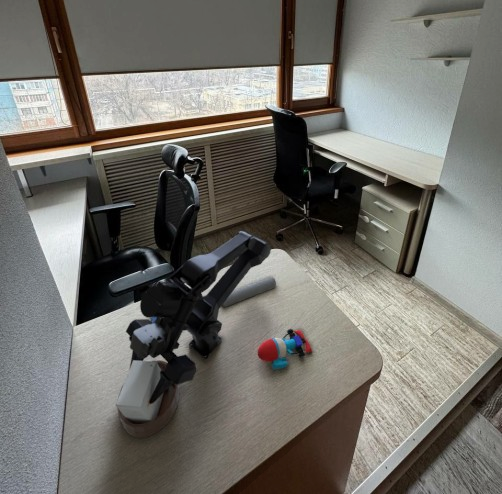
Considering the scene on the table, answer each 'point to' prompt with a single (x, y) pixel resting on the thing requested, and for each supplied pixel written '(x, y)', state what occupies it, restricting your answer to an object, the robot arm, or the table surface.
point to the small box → (140, 392)
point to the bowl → (164, 413)
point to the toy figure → (282, 348)
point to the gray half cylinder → (250, 291)
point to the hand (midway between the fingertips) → (140, 389)
